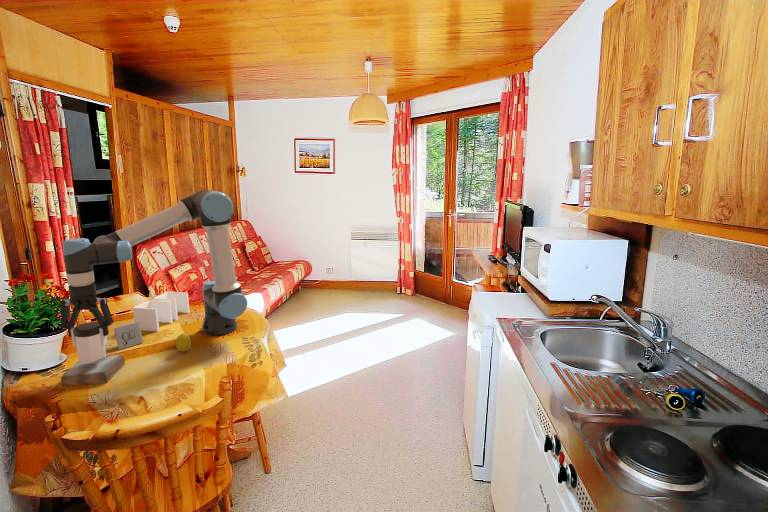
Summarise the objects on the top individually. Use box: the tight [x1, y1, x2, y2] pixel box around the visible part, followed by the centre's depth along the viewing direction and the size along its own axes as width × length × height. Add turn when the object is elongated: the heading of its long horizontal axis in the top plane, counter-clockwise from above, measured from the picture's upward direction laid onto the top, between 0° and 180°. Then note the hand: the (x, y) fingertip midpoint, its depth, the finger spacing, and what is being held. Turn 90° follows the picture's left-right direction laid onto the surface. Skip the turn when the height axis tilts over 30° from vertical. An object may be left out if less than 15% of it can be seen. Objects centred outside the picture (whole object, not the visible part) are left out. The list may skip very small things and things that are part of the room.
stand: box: [60, 354, 126, 387], centre depth 148 cm, size 14×14×4 cm
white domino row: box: [132, 291, 190, 332], centre depth 198 cm, size 25×11×11 cm, turn 173°
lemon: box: [175, 333, 192, 353], centre depth 166 cm, size 6×6×8 cm
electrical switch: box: [113, 321, 144, 350], centre depth 172 cm, size 9×5×9 cm, turn 141°
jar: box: [74, 321, 107, 362], centre depth 145 cm, size 9×8×12 cm
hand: (90, 344), depth 146 cm, fingers closed on jar, 8 cm apart
